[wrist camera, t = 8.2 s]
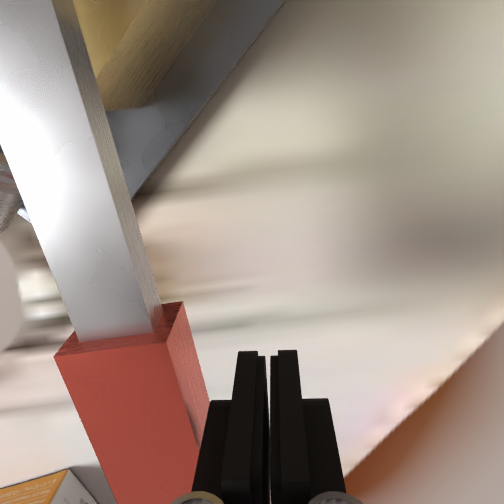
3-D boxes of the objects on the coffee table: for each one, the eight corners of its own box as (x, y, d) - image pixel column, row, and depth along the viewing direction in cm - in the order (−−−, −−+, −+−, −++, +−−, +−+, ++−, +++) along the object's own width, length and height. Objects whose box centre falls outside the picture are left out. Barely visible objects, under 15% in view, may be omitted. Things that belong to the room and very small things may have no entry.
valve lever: (136, 451, 12) (115, 508, 10) (-118, -217, 6) (-251, -328, 5) (223, 442, 12) (217, 499, 10) (38, -262, 6) (-45, -394, 5)
